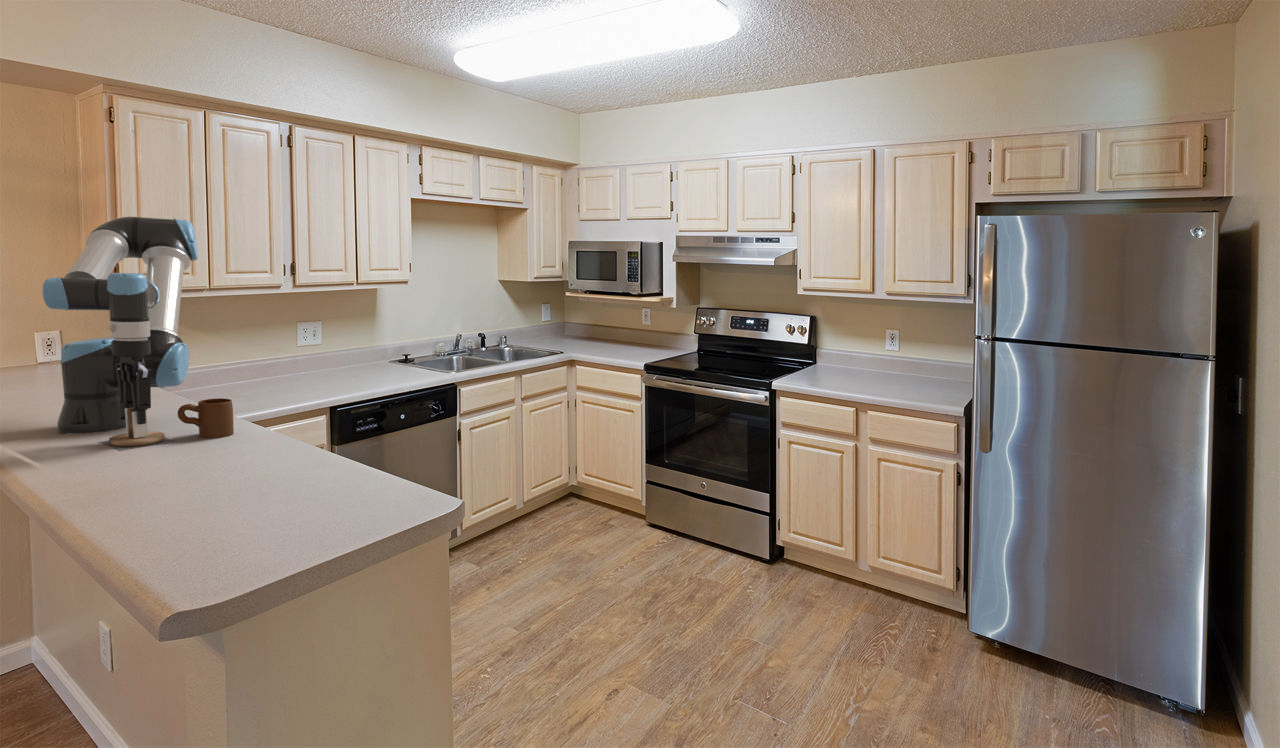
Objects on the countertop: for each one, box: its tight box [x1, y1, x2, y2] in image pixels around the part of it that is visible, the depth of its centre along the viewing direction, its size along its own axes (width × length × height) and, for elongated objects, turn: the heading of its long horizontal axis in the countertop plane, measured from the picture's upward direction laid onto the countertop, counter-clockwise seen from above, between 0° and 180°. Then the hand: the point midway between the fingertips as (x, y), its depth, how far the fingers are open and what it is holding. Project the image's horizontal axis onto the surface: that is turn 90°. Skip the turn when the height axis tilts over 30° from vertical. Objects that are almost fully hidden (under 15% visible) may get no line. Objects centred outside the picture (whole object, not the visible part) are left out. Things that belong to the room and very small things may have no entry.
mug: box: [177, 398, 235, 439], centre depth 178 cm, size 12×8×9 cm, turn 131°
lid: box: [108, 407, 166, 446], centre depth 170 cm, size 11×11×8 cm
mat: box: [97, 436, 177, 452], centre depth 171 cm, size 12×12×1 cm
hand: (137, 435), depth 170 cm, fingers closed on lid, 3 cm apart
